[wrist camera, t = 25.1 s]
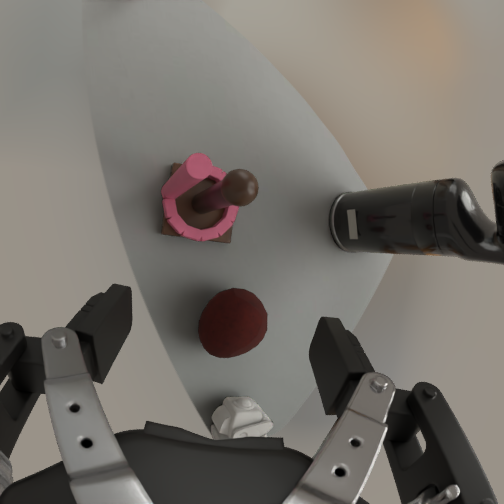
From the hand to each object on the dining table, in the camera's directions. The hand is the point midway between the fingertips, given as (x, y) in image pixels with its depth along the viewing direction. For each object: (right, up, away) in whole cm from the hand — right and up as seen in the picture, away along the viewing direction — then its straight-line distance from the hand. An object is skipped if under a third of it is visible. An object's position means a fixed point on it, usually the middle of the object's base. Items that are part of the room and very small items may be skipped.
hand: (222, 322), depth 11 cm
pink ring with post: (-5, +8, +20) cm, 22 cm away
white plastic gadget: (0, -15, +21) cm, 26 cm away
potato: (-2, -5, +23) cm, 24 cm away
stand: (-5, +8, +21) cm, 23 cm away
